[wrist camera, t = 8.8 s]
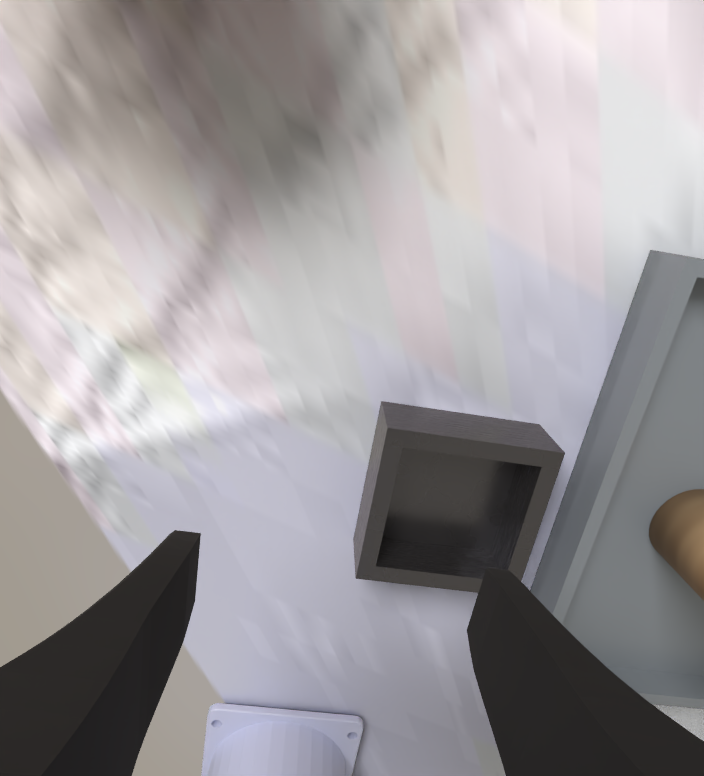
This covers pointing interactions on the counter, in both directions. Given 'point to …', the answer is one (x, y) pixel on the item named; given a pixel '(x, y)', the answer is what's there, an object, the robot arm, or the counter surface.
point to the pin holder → (451, 497)
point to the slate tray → (638, 496)
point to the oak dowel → (682, 536)
